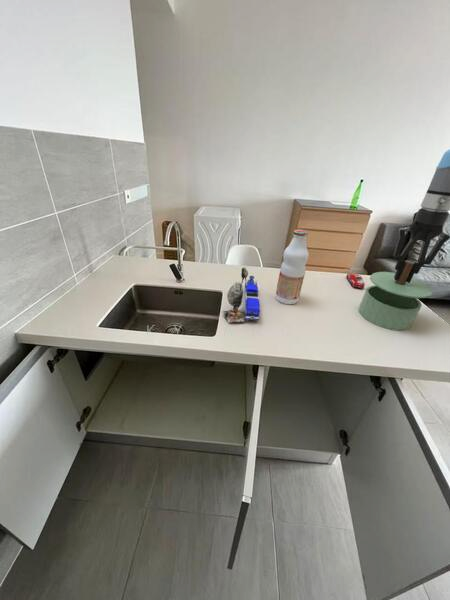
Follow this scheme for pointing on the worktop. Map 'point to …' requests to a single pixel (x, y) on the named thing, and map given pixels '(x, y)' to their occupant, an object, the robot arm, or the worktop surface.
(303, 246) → the fruit juice
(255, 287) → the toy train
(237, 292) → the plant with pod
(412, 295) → the tin lid
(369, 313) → the tin
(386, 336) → the worktop surface
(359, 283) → the race car
